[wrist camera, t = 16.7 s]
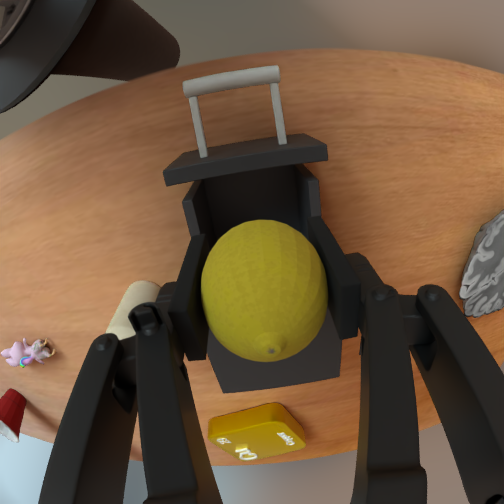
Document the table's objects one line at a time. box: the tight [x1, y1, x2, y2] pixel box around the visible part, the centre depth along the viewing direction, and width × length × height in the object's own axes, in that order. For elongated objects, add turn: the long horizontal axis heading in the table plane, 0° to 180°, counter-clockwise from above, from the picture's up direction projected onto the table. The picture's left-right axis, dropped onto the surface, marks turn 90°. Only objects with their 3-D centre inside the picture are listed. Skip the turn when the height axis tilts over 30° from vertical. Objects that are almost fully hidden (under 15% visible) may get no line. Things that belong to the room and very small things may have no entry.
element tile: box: [207, 403, 306, 461], centre depth 49 cm, size 15×15×5 cm
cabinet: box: [207, 306, 342, 393], centre depth 31 cm, size 15×13×10 cm
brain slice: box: [459, 209, 504, 318], centre depth 34 cm, size 20×17×3 cm
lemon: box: [201, 220, 328, 362], centre depth 13 cm, size 6×6×8 cm
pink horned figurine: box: [1, 338, 56, 368], centre depth 38 cm, size 6×6×15 cm
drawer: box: [163, 65, 328, 251], centre depth 25 cm, size 20×12×8 cm, turn 9°
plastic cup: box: [0, 389, 26, 443], centre depth 45 cm, size 11×11×12 cm
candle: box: [105, 280, 161, 340], centre depth 31 cm, size 6×6×10 cm
